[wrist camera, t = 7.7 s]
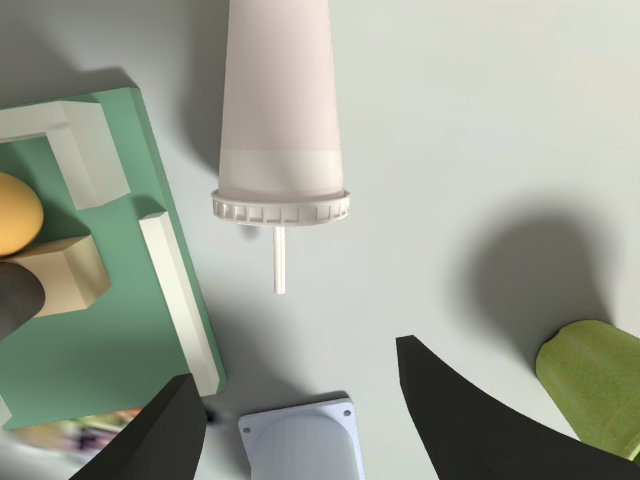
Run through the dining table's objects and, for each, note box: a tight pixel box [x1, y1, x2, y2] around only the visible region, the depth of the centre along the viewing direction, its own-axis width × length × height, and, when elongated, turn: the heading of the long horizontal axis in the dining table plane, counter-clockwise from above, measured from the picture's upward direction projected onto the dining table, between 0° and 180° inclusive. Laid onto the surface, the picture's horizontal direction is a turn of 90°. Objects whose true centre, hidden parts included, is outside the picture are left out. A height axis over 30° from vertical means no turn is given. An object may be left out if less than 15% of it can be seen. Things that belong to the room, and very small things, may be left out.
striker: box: [0, 234, 111, 342], centre depth 16 cm, size 3×6×6 cm, turn 99°
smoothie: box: [211, 0, 351, 294], centre depth 16 cm, size 6×6×14 cm
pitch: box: [0, 87, 227, 430], centre depth 18 cm, size 18×14×4 cm
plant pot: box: [536, 320, 640, 467], centre depth 21 cm, size 9×9×9 cm
